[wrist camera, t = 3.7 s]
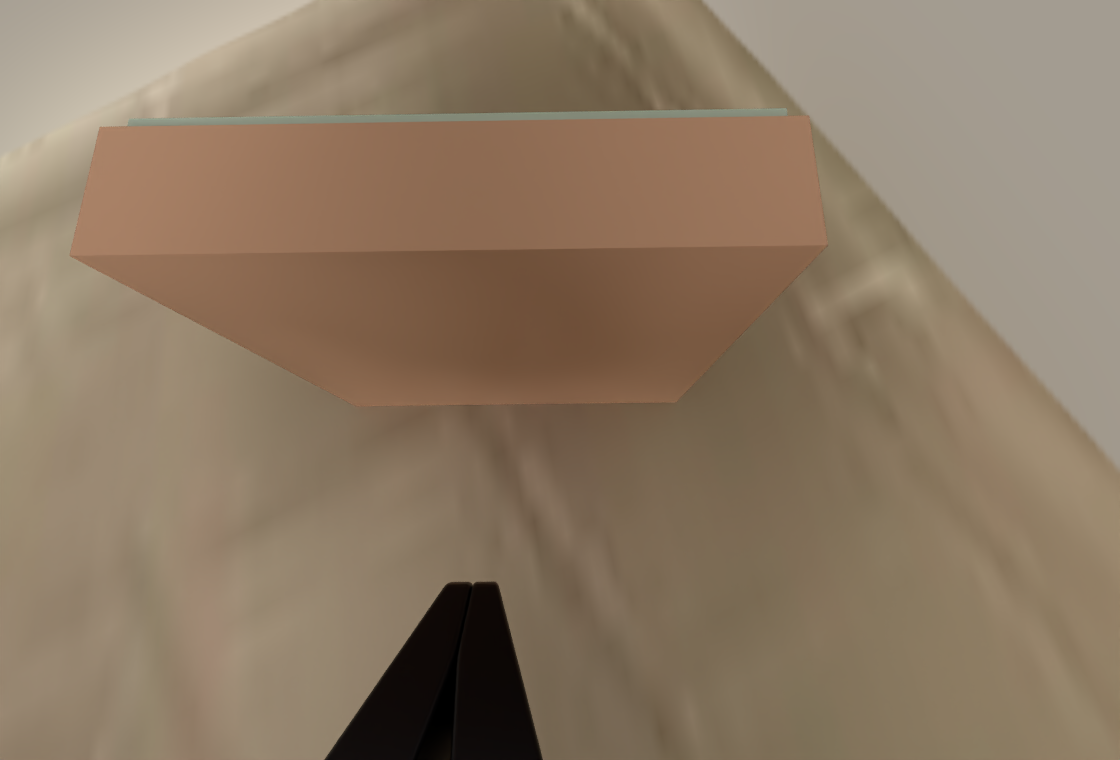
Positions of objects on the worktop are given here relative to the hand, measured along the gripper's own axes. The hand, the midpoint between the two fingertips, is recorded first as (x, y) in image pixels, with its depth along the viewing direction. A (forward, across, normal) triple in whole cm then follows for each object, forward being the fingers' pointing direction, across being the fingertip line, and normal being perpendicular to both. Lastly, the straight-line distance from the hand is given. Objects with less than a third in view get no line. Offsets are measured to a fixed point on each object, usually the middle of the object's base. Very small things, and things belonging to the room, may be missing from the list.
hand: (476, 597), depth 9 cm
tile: (+9, 0, +1) cm, 9 cm away
